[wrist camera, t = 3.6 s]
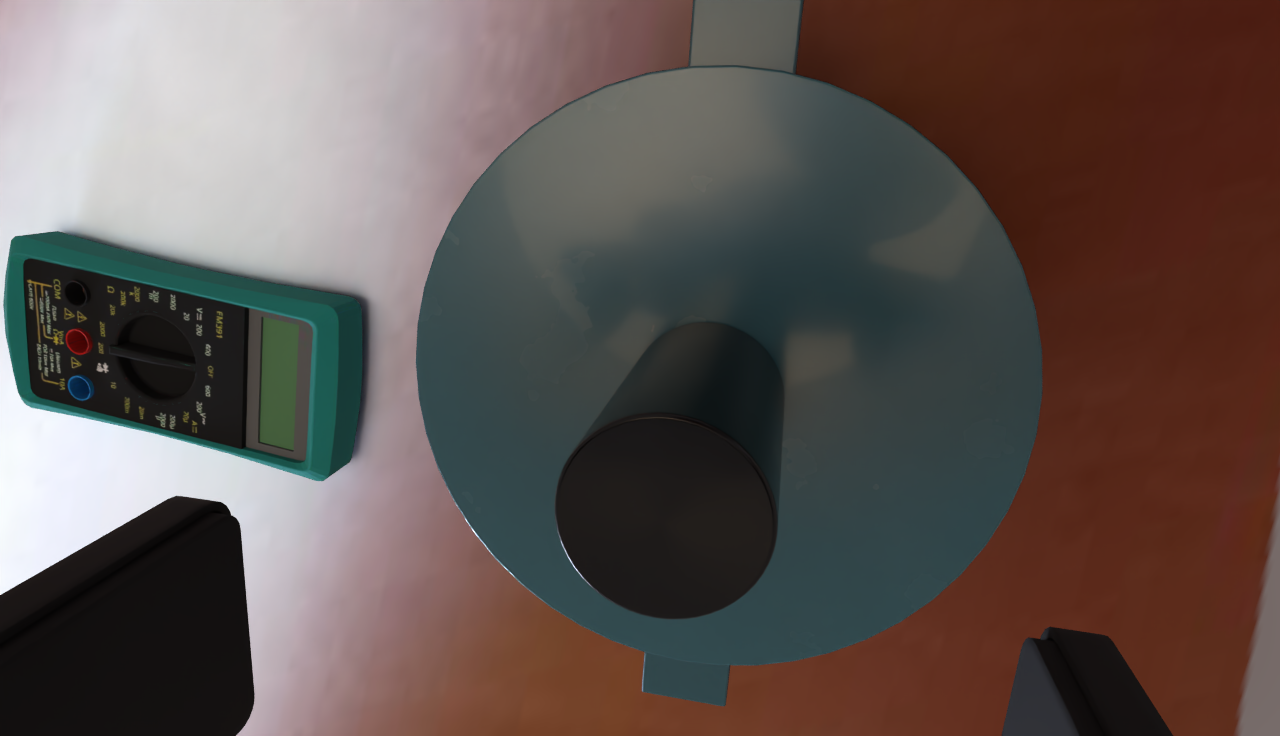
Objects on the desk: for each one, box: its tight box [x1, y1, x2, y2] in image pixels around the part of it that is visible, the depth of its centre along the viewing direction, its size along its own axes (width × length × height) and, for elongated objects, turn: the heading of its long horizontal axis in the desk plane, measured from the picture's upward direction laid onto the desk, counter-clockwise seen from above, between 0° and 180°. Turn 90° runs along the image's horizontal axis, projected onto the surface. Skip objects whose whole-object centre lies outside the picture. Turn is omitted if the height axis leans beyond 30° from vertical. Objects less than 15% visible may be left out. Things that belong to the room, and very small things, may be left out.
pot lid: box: [416, 65, 1042, 665], centre depth 16 cm, size 15×15×8 cm
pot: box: [642, 0, 804, 706], centre depth 24 cm, size 14×19×10 cm
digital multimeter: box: [3, 231, 362, 481], centre depth 33 cm, size 7×15×3 cm, turn 81°
